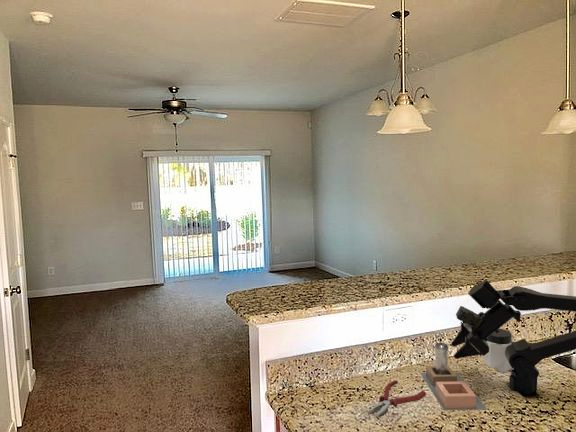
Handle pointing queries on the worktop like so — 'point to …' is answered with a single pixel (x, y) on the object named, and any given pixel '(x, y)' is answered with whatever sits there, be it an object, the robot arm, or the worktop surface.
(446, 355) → the peg
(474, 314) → the robot arm
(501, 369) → the jar
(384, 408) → the pliers
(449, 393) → the socket
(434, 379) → the dock plate
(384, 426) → the worktop surface
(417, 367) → the worktop surface
